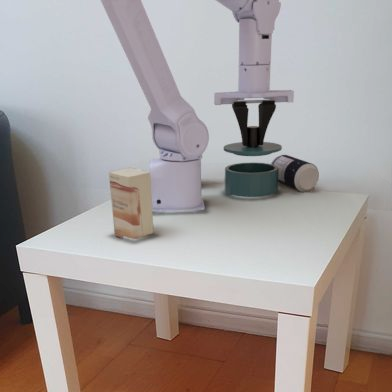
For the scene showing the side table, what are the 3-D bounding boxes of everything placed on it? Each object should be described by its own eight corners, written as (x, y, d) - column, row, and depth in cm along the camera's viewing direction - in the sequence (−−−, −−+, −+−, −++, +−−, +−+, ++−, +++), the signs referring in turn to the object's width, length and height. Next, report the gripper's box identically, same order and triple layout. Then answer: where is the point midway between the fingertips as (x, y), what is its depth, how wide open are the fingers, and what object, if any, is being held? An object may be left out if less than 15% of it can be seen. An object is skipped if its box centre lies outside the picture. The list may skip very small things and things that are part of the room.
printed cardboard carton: (113, 236, 85) (106, 171, 79) (134, 229, 87) (129, 166, 82) (134, 243, 81) (128, 176, 76) (155, 236, 84) (151, 170, 79)
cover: (227, 159, 97) (227, 132, 95) (220, 148, 107) (220, 124, 104) (287, 156, 98) (288, 130, 95) (275, 146, 107) (276, 122, 105)
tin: (227, 200, 102) (227, 174, 99) (223, 187, 111) (223, 163, 108) (281, 198, 102) (282, 172, 100) (272, 186, 111) (273, 161, 109)
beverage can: (318, 158, 102) (288, 149, 112) (292, 171, 101) (265, 160, 111) (323, 186, 105) (294, 174, 115) (299, 198, 105) (271, 185, 115)
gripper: (216, 66, 91) (217, 149, 98) (299, 64, 91) (294, 146, 98) (212, 65, 97) (213, 143, 104) (290, 62, 98) (286, 140, 104)
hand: (252, 144), depth 101 cm, fingers closed on cover, 2 cm apart
